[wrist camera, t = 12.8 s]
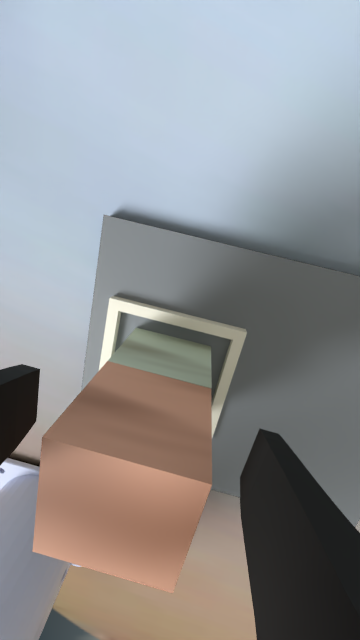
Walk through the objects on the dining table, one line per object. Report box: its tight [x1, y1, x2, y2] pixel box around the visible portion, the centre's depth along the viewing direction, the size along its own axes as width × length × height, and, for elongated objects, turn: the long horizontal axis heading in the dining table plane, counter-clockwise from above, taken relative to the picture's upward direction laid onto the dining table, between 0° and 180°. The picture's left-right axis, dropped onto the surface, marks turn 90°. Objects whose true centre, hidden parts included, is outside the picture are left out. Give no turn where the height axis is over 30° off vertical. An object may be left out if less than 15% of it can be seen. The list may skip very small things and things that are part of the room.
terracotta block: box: [32, 361, 212, 593], centre depth 9 cm, size 4×4×4 cm
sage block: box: [108, 328, 212, 389], centre depth 14 cm, size 4×4×4 cm
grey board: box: [81, 215, 360, 527], centre depth 16 cm, size 16×20×1 cm
